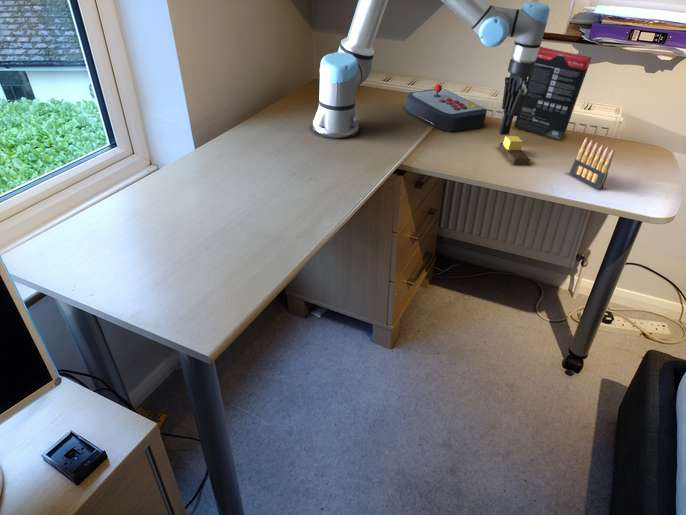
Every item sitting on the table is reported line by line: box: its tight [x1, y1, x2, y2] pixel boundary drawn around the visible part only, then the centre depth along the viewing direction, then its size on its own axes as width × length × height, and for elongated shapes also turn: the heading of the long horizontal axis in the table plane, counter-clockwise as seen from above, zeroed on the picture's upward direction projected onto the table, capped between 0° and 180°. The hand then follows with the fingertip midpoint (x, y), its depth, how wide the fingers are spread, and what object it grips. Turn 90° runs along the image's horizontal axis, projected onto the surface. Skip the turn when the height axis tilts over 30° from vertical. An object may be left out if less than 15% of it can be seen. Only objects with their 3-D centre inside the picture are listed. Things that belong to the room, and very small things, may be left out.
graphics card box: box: [513, 46, 592, 141], centre depth 172 cm, size 17×7×27 cm, turn 58°
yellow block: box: [502, 135, 524, 150], centre depth 161 cm, size 4×4×3 cm
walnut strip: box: [498, 142, 531, 166], centre depth 161 cm, size 12×5×2 cm, turn 8°
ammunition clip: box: [568, 137, 615, 191], centre depth 147 cm, size 11×2×12 cm, turn 30°
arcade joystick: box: [404, 83, 488, 132], centre depth 183 cm, size 28×19×10 cm
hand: (503, 133), depth 167 cm, fingers closed
